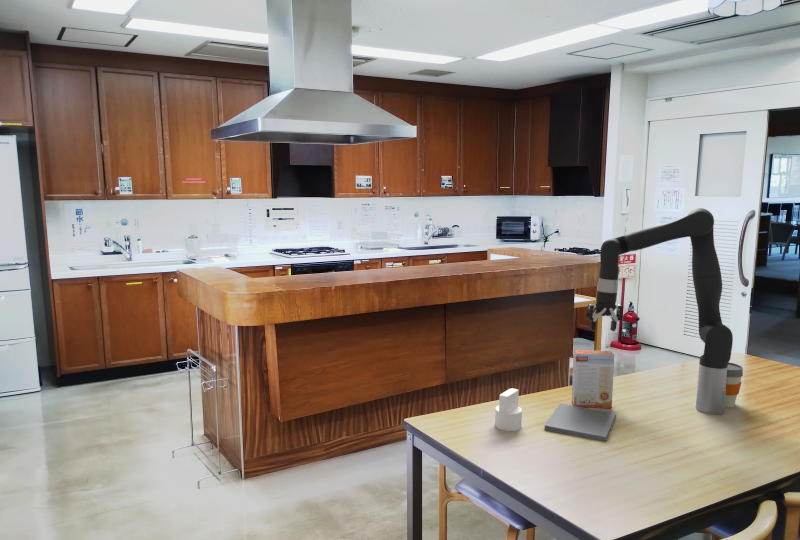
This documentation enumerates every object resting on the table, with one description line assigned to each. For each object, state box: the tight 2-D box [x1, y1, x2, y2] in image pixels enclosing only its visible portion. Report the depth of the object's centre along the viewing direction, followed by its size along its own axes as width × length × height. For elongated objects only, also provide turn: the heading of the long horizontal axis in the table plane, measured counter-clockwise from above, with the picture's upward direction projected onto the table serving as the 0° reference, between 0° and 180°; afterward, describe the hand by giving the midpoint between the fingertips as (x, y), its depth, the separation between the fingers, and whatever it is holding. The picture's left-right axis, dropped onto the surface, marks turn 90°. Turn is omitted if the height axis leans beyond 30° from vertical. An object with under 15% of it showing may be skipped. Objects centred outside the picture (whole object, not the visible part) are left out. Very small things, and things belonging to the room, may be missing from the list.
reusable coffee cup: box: [724, 361, 744, 408], centre depth 226 cm, size 12×13×15 cm
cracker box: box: [571, 349, 615, 409], centre depth 222 cm, size 14×6×21 cm, turn 84°
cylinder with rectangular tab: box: [494, 387, 523, 432], centre depth 203 cm, size 9×9×12 cm
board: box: [544, 402, 617, 442], centre depth 206 cm, size 20×24×2 cm
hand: (602, 330), depth 232 cm, fingers open, 8 cm apart
